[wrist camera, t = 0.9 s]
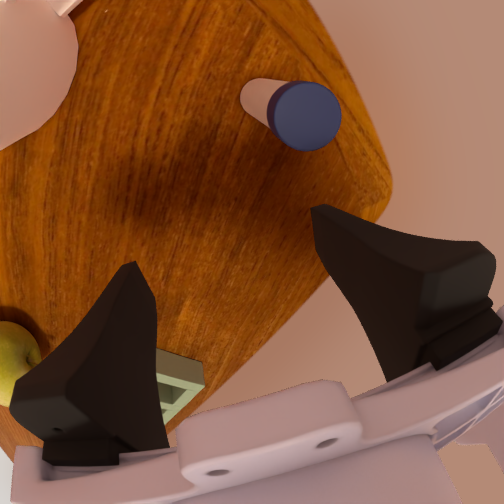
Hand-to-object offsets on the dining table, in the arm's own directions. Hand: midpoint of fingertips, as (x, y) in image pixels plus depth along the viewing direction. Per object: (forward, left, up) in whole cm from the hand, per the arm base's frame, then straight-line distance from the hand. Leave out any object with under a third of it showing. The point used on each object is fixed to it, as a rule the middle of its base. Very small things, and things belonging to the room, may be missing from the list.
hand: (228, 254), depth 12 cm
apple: (+15, +20, -10) cm, 27 cm away
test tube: (-2, -6, -10) cm, 12 cm away
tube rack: (0, +25, -10) cm, 27 cm away
